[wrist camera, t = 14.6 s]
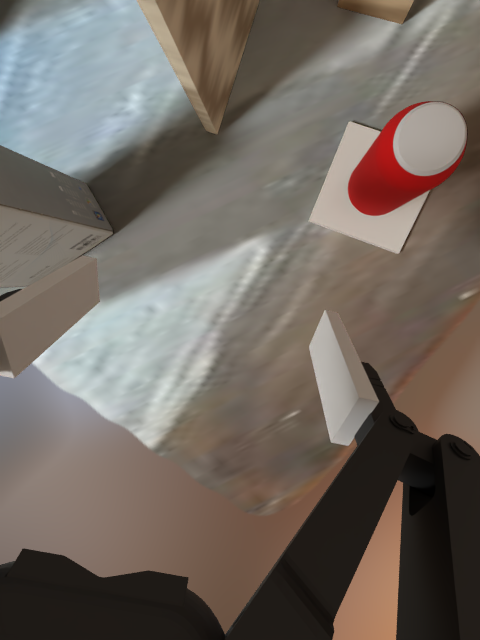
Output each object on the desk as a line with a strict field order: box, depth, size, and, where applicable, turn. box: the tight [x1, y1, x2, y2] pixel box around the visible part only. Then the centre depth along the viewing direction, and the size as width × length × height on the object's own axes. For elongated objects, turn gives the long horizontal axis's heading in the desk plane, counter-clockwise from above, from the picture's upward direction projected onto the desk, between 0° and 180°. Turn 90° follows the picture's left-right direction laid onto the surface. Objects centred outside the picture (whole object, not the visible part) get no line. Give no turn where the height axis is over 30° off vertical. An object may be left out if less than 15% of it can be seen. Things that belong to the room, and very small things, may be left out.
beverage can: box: [348, 101, 468, 216], centre depth 25 cm, size 6×6×12 cm
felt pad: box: [309, 121, 430, 254], centre depth 31 cm, size 11×11×1 cm
